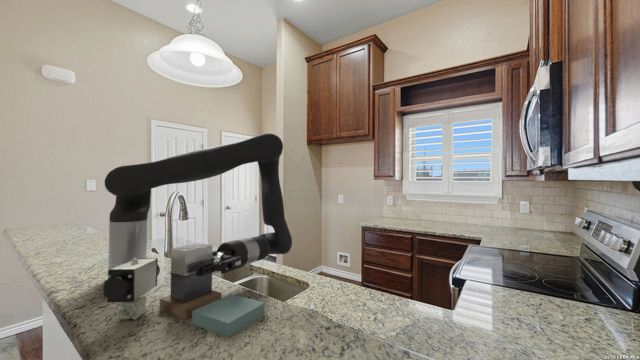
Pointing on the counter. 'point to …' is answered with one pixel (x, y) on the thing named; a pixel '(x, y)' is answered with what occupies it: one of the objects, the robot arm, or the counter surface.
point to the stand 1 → (187, 305)
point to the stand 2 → (228, 314)
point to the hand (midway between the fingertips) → (184, 268)
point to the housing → (190, 272)
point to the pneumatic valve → (131, 285)
